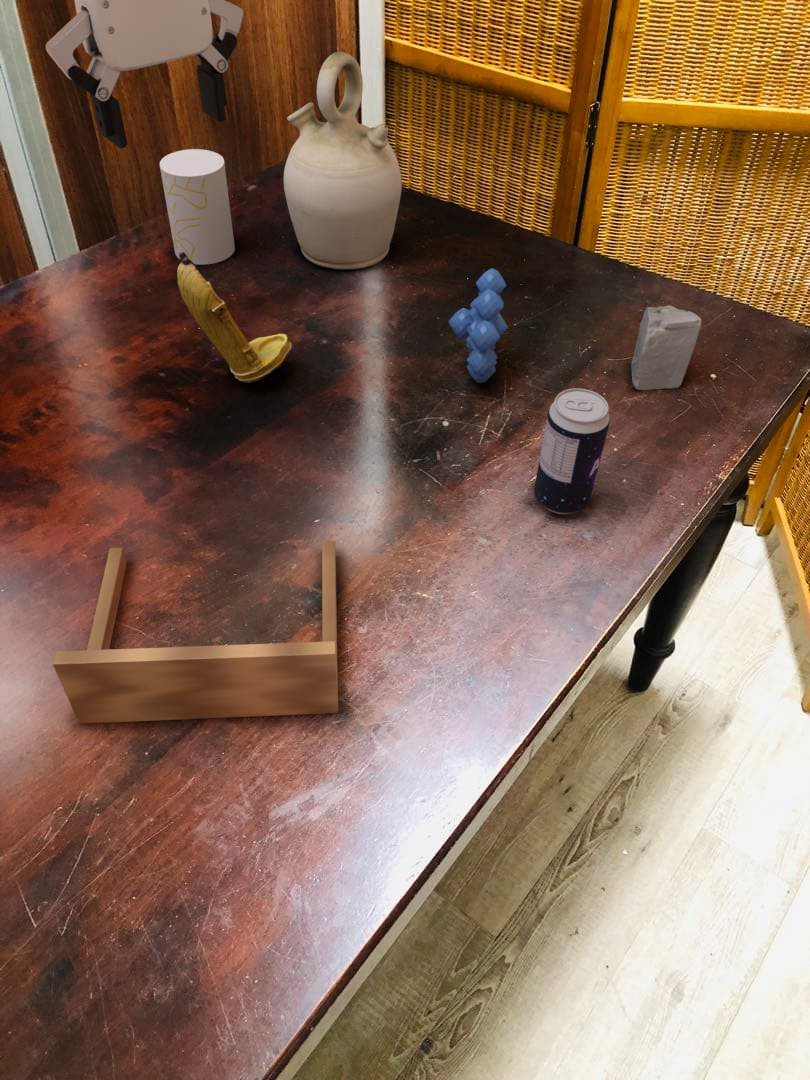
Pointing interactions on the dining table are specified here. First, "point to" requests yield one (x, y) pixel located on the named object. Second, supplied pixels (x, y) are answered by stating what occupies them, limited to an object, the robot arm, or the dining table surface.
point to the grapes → (482, 325)
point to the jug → (341, 177)
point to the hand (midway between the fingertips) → (166, 129)
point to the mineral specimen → (664, 347)
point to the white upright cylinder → (198, 205)
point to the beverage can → (571, 450)
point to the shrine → (229, 328)
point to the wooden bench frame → (199, 669)
